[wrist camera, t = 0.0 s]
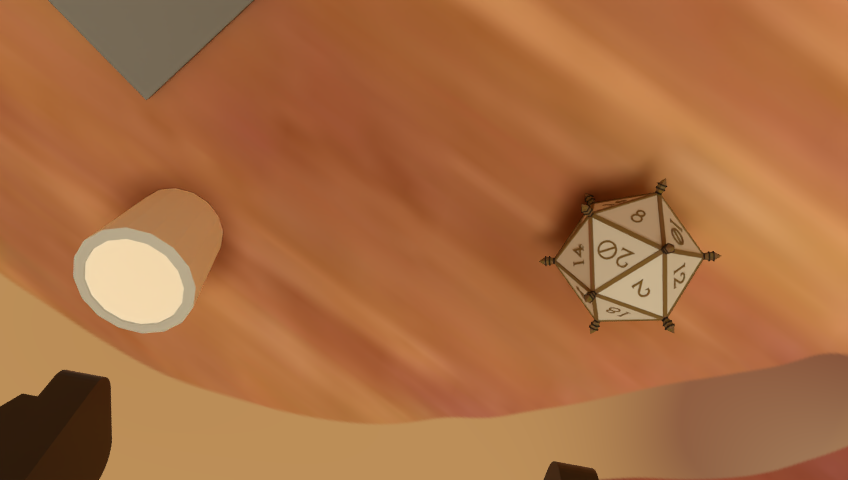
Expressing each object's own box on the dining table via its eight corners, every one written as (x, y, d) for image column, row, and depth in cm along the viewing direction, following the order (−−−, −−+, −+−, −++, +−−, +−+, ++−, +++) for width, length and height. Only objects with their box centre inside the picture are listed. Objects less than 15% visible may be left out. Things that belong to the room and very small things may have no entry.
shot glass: (106, 196, 43) (47, 247, 36) (202, 165, 41) (157, 213, 35) (159, 285, 46) (111, 346, 39) (250, 258, 44) (216, 318, 38)
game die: (574, 218, 46) (491, 289, 40) (643, 127, 40) (557, 194, 33) (680, 308, 44) (609, 398, 37) (769, 226, 38) (703, 318, 31)
